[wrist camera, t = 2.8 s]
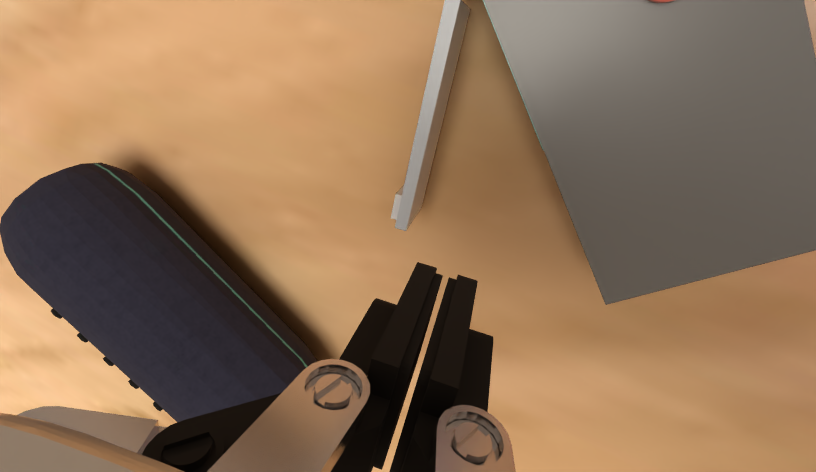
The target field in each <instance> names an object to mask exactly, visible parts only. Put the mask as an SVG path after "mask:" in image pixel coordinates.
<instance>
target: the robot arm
mask: <svg viewBox="0 0 816 472" xmlns="http://www.w3.org/2000/svg"><path fill="white" fill-rule="evenodd" d="M436 270H437V268H435V267H432V266H429V265H425V264H422V263H419V262H418V263H417V265H416V267H415V269H414V271H413V273H412V275H411V277H410V279H409V281H408V283H407V285H406V287H405V289H404V292H403V294H402V296H401V298H400V300H399V302H398V304H397V305H395V304H392V303H389V302H386V301H383V300H380V299H377V298H376V299H375V300H374V301H373V302H372V304H371V306H370V308H369V309H368V311H367V313H366V314H365V316H364V318H363V320H362V321H361V323H360V325H359V326H358V328H357V330H356V332H355V333H354V335H353V337H352V338H351V340H350V342H349V343H348V345H347V347H346V349H345V350H344V352H343V354H342V355H341V357H340V359H339V360H338V359H327V360H320V361H318V362H315V363H313V364H311V365H309V366H308V367H307V368H306V369H304V370H303V371H302V372H301V373H300V374H299V375H298V376H297V377H296V378H295V380H294V381H293V382H292V383H291V384H290V385H289V386H288V387H287V388H286V389H285V390H284V391H283V392H282V393H279V394H275V395H272V396H268V397H265V398H261V399H258V400H254V401H250V402H247V403H243V404H240V405H236V406H232V407H229V408H225V409H222V410H218V411H214V412H211V413H207V414H204V415H200V416H196V417H193V418H189V419H186V420H183V421H180V422H178V423H175V424H173V425H170V426H169V427H160V426H158V420H153V419H146V418H139V417H131V416H124V415H117V414H110V413H103V412H96V411H89V410H81V409H74V408H67V407H60V406H46V407H40V408H36V409H32V410H28V411H25V412H23V413H21V414H19V415H11V414H3V413H0V472H371V471H372V468H373V466H374V467H376V468H379V469H381V470H382V468H383V465H384V462H385V459H386V456H387V452H388V449H389V446H390V443H391V440H392V437H393V434H394V431H395V428H396V425H397V422H398V419H399V416H400V413H401V410H402V407H403V403H404V400H405V397H406V394H407V391H408V388H409V385H410V382H411V379H412V376H413V373H414V370H415V367H416V364H417V361H418V357H419V354H420V351H421V347H422V344H423V341H424V337H425V334H426V331H427V327H428V324H429V321H430V317H431V314H432V310H433V307H434V304H435V300H436V297H437V294H438V290H439V287H440V283H441V280H442V277H443V275H440V274H437V273H436ZM476 288H477V281H476V280H473V279H470V278H467V277H464V276H460V275H458V277H457V280H456V279H452V278H449V279H448V282H447V286H446V289H445V292H444V295H443V299H442V302H441V305H440V308H439V312H438V315H437V318H436V321H435V325H434V328H433V331H432V334H431V338H430V341H429V344H428V348H427V351H426V354H425V357H424V361H423V364H422V367H421V370H420V374H419V377H418V380H417V383H416V387H415V390H414V393H413V397H412V400H411V403H410V406H409V410H408V413H407V416H406V419H405V423H404V426H403V429H402V433H401V436H400V439H399V442H398V446H397V449H396V452H395V456H394V459H393V462H392V465H391V469H390V472H516V471H515V464H514V458H513V451H512V445H511V442H510V438H509V435H508V433H507V432H506V430H505V429H504V427H503V425H502V424H501V423H500V422H499V421H498V420H497V419H496V418H495V417H494V416H492V415H491V414H489V413H488V412H487V410H488V398H489V386H490V374H491V362H492V350H493V336H490V335H487V334H483V333H480V332H477V331H474V330H471V329H469V328H470V322H471V316H472V310H473V305H474V299H475V293H476Z"/></svg>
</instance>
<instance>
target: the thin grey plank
mask: <svg viewBox="0 0 816 472" xmlns="http://www.w3.org/2000/svg"><path fill="white" fill-rule="evenodd" d="M469 13H470V8H469V7H468V6H467V5H466V4H465V3H464V2H462V1H461V0H445V2H444V6H443V11H442V15H441V20H440V25H439V29H438V34H437V38H436V43H435V47H434V52H433V56H432V61H431V65H430V70H429V75H428V79H427V84H426V88H425V93H424V97H423V102H422V106H421V111H420V115H419V120H418V124H417V129H416V134H415V138H414V143H413V147H412V152H411V156H410V161H409V165H408V170H407V174H406V179H405V184H404V185H403V186H402V188H401V189H400V190H399V191H398V192H397V193H396V195H395V200H394V204H393V209H392V214H391V218H392V219H395V220H396V224H395V228H397V229H400V230H404V231H407V229H408V227H409V226H410V224H411V223H412V221H413V220H414V218H415V217H416V215H417V214H418V212H419V211H420V209H421V208H422V204H423V200H424V196H425V191H426V187H427V183H428V179H429V175H430V171H431V167H432V163H433V159H434V155H435V151H436V147H437V143H438V139H439V135H440V131H441V127H442V123H443V119H444V115H445V110H446V106H447V102H448V98H449V94H450V90H451V86H452V82H453V78H454V74H455V70H456V66H457V62H458V58H459V54H460V50H461V46H462V42H463V38H464V34H465V29H466V25H467V21H468V17H469Z"/></svg>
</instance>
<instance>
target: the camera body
mask: <svg viewBox="0 0 816 472" xmlns="http://www.w3.org/2000/svg"><path fill="white" fill-rule="evenodd" d="M483 3H484V5H485V8H486V10H487V13H488V15H489V18H490V20H491V22H492V25H493V27H494V30H495V32H496V35H497V37H498V40H499V42H500V45H501V47H502V50H503V52H504V55H505V57H506V60H507V62H508V65H509V67H510V70H511V72H512V75H513V77H514V80H515V82H516V85H517V87H518V90H519V92H520V95H521V97H522V100H523V102H524V105H525V107H526V110H527V112H528V115H529V117H530V120H531V122H532V125H533V127H534V130H535V132H536V135H537V137H538V140H539V142H540V144H541V147H542V149H543V150H544V152H545V155H546V157H547V160H548V162H549V165H550V167H551V170H552V172H553V175H554V177H555V180H556V182H557V185H558V187H559V190H560V192H561V195H562V197H563V200H564V202H565V205H566V207H567V210H568V212H569V215H570V217H571V220H572V222H573V225H574V227H575V230H576V232H577V234H578V237H579V239H580V242H581V244H582V247H583V249H584V252H585V254H586V257H587V259H588V262H589V264H590V267H591V269H592V272H593V274H594V277H595V279H596V282H597V284H598V287H599V289H600V292H601V294H602V297H603V299H604V302H605V304H606V305H607V304H611V303H615V302H618V301H622V300H626V299H630V298H634V297H638V296H641V295H645V294H649V293H653V292H657V291H661V290H665V289H668V288H672V287H676V286H680V285H684V284H688V283H691V282H695V281H699V280H703V279H707V278H711V277H715V276H718V275H722V274H726V273H730V272H734V271H738V270H741V269H745V268H749V267H753V266H757V265H761V264H765V263H768V262H772V261H776V260H780V259H784V258H788V257H791V256H795V255H799V254H803V253H807V252H811V251H815V250H816V58H815V53H814V48H813V43H812V38H811V33H810V28H809V23H808V18H807V14H806V9H805V4H804V0H483Z"/></svg>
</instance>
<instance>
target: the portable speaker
mask: <svg viewBox="0 0 816 472" xmlns="http://www.w3.org/2000/svg"><path fill="white" fill-rule="evenodd" d="M0 234H1V238H2V243H3V247H4V252H5V254H6V256H7V258H8V259H9V261H10V263H11V265H12V266H13V268H14V270H15V272H16V274H17V275H18V276H19V277H20V278H21V279H22V280H23V281H24V282H25V283H26V284H27V285H29V286H30V287H31V288H32V289H33V290H34V291H35V292H36V293H37V294H38V295H39V296H40V297H41V298H43V299H44V300H45V301H46V302H47V303H48V304H49V305H50V306H51V307H52V308H53V309H52V310H51V312H52V314H53V315H54V316H55V317H58V318H62V317H63V318H64V319H65V320H67V321H68V322H69V323H70V324H71V325H72V326H73V327H74V328H75V329H76V330H77V331H79V332H80V333H79V334H77V336H78V337H79V338H80V339H81V340H82V341H84V342H87V341H89V342H91V343H92V344H93V345H94V346H95V347H96V348H97V349H98V350H99V351H100V352H101V353H103V354H104V355H105V356H106V357H104V358H103V359H104V361H105V362H106V363H107V364H108V365H109V366H113V365H114V364H115V365H116V366H117V367H118V368H119V369H120V370H121V371H122V372H123V373H124V374H125V375H127V376H128V377H129V378H130V380H129V381H128V382H129V383H130V385H131V386H132V387H134V388H135V389H137V388H139V387H140V388H141V389H142V390H143V391H144V392H145V393H146V394H147V395H148V396H149V397H151V398H152V399H153V400H154V401H155V402H154V403H153V405H154V407H155V408H156V409H157V410H159V411H161V410H162V409H164V410H165V411H166V412H167V413H168V414H169V415H170V416H171V417H172V418H173V419H175V420H176V421H177V422H180V421H183V420H186V419H189V418H193V417H196V416H200V415H204V414H207V413H211V412H214V411H218V410H222V409H225V408H229V407H232V406H236V405H240V404H243V403H247V402H250V401H254V400H258V399H261V398H265V397H268V396H272V395H275V394H279V393H282V392H283V391H284V390H285V389H286V388H287V387H288V386H289V385H290V384H291V383H292V382H293V381H294V380H295V378H296V377H297V376H298V375H299V374H300V373H301V372H302V371H303V370H304V369H306V368H307V367H308V366H309V365H311V364H313V363H315V362H318V361H317V360H316V358H315V357H314V356H313V354H312V353H311V351H310V350H309V349H308V347H307V346H306V344H305V343H304V342H303V341H302V340H301V339H300V338H299V337H298V336H297V335H296V334H295V333H294V332H293V331H292V330H291V329H290V328H289V327H288V326H287V325H286V324H285V323H284V322H283V321H282V320H281V319H280V318H279V317H278V316H277V315H276V314H275V313H274V312H273V311H272V310H271V309H270V308H269V307H268V306H267V305H266V304H265V303H264V302H263V301H262V300H261V299H260V298H259V297H258V296H257V295H256V294H255V293H254V292H253V291H252V290H251V289H250V288H249V287H248V285H247V284H246V283H245V282H244V281H243V280H242V279H241V278H240V277H239V276H238V275H237V274H236V273H235V272H234V271H233V270H232V269H231V268H230V267H229V266H228V265H227V264H226V263H225V262H224V261H223V260H222V259H221V258H220V257H219V256H218V255H217V254H216V253H215V252H214V251H213V250H212V249H211V248H210V247H209V246H208V245H207V244H206V243H205V242H204V241H203V240H202V239H201V238H200V237H199V236H198V235H197V234H196V233H195V232H194V231H193V230H192V229H191V228H190V227H189V226H188V225H187V224H186V223H185V222H184V221H183V220H182V219H181V218H180V217H179V216H178V214H177V213H176V212H175V211H174V210H173V209H172V208H171V207H170V206H169V205H168V204H167V203H166V202H165V201H164V200H163V199H162V198H161V197H160V196H159V195H158V194H157V193H155V192H154V191H153V190H152V189H150V188H149V187H148V186H146V185H145V184H144V183H142V182H141V181H140V180H138V179H137V178H136V177H135V176H133V175H132V174H130V173H128V172H126V171H124V170H122V169H119V168H117V167H114V166H110V165H107V164H103V163H89V164H79V165H76V166H73V167H69V168H66V169H63V170H61V171H58V172H56V173H53V174H51V175H48V176H46V177H43V178H41V179H39V180H38V181H37V182H35V183H34V184H33V185H32V186H30V187H29V188H28V189H27V190H25V191H24V192H23V193H22V194H20V195H19V196H18V197H17V198H15V199H14V201H13V202H12V203H11V205H10V206H9V208H8V209H7V210H6V212H5V213H4V214H3V216H2V218H1V223H0Z"/></svg>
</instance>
